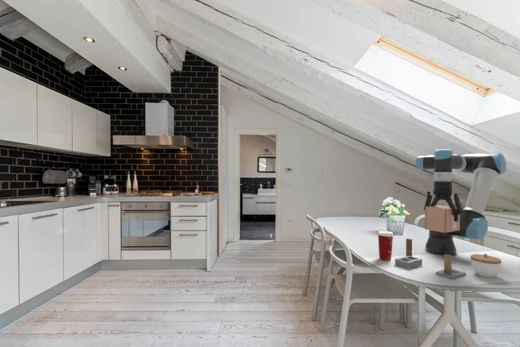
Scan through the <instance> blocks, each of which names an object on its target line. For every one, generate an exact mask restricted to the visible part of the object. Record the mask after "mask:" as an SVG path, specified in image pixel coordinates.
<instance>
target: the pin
mask: <svg viewBox="0 0 520 347" xmlns="http://www.w3.org/2000/svg"><path fill="white" fill-rule="evenodd" d="M405 240H406V241H405V256H412V257H413V239H412V238H408V237H407V238H405Z"/></svg>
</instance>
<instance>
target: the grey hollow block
mask: <svg viewBox="0 0 520 347" xmlns="http://www.w3.org/2000/svg"><path fill="white" fill-rule="evenodd" d="M394 265H395V266H397V265H398V266H397V267H400V266H401V267H400V268H405V269H408V270H410V269H411V270H412V269H413V268H417V267H418V268H419V267H422V266H423V258H419V257H415V256H413V255H412V256H406V255H405V256H401V257H397V258H395V259H394Z"/></svg>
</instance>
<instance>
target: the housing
mask: <svg viewBox="0 0 520 347" xmlns="http://www.w3.org/2000/svg"><path fill="white" fill-rule="evenodd" d="M424 207H425V206H424ZM456 209H457V208H456ZM452 215H453V212H452V208H450V207H449V205H448V206H447V205H436V206H433V207H432V206H430V207H425V210H424V229H425V230H428V231H429V230H432V231H438V232H444V233H447V232H452V231H458V230H460V214H459V215H458V222H456V228H454V229H452V228H451V226H452Z"/></svg>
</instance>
